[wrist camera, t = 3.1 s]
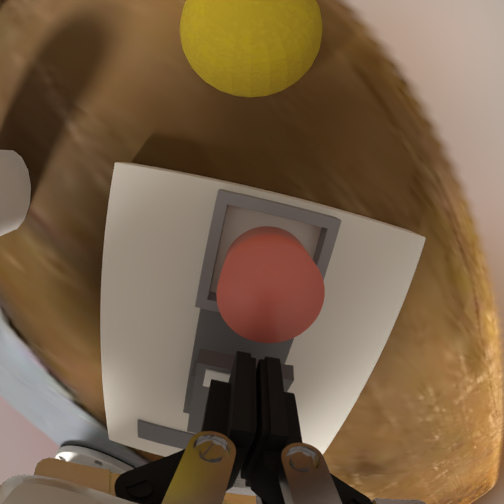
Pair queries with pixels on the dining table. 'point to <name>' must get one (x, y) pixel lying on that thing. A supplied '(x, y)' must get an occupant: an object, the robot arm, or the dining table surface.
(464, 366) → the dining table surface
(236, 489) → the slide paddle
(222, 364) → the rocker switch
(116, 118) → the dining table surface
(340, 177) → the dining table surface
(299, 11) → the lemon
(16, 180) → the white cup
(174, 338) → the switch panel
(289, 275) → the push button
